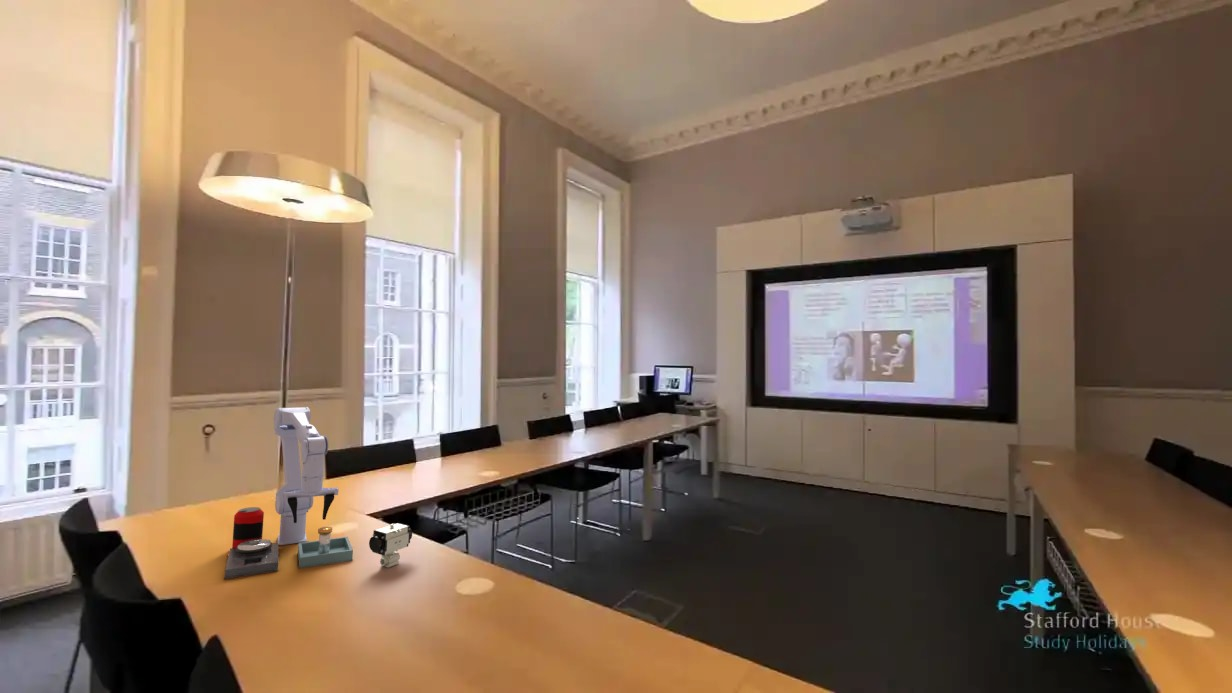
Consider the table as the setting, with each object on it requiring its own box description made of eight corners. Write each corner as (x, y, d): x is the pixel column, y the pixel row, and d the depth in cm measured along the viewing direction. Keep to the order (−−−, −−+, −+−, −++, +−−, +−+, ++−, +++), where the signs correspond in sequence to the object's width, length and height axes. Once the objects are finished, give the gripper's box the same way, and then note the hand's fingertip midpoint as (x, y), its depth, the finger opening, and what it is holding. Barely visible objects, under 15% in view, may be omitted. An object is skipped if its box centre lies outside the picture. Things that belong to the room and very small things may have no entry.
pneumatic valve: (367, 570, 149) (369, 528, 149) (400, 557, 159) (402, 518, 159) (379, 574, 146) (382, 531, 146) (413, 561, 156) (415, 521, 157)
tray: (297, 552, 159) (298, 543, 159) (347, 545, 166) (347, 536, 167) (299, 568, 148) (300, 557, 148) (352, 560, 155) (352, 550, 155)
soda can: (225, 550, 158) (228, 511, 159) (248, 542, 166) (251, 505, 166) (245, 554, 157) (247, 514, 157) (267, 545, 164) (270, 507, 164)
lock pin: (316, 554, 157) (317, 527, 158) (330, 552, 160) (331, 526, 160) (316, 558, 154) (318, 531, 154) (331, 556, 156) (332, 529, 157)
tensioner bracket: (229, 556, 154) (230, 538, 154) (277, 550, 160) (278, 532, 161) (224, 579, 139) (226, 558, 139) (277, 570, 145) (279, 551, 146)
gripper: (285, 481, 152) (282, 527, 151) (340, 476, 160) (337, 520, 159) (284, 475, 158) (281, 520, 157) (338, 472, 166) (335, 514, 165)
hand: (309, 520), depth 159 cm, fingers open, 7 cm apart
